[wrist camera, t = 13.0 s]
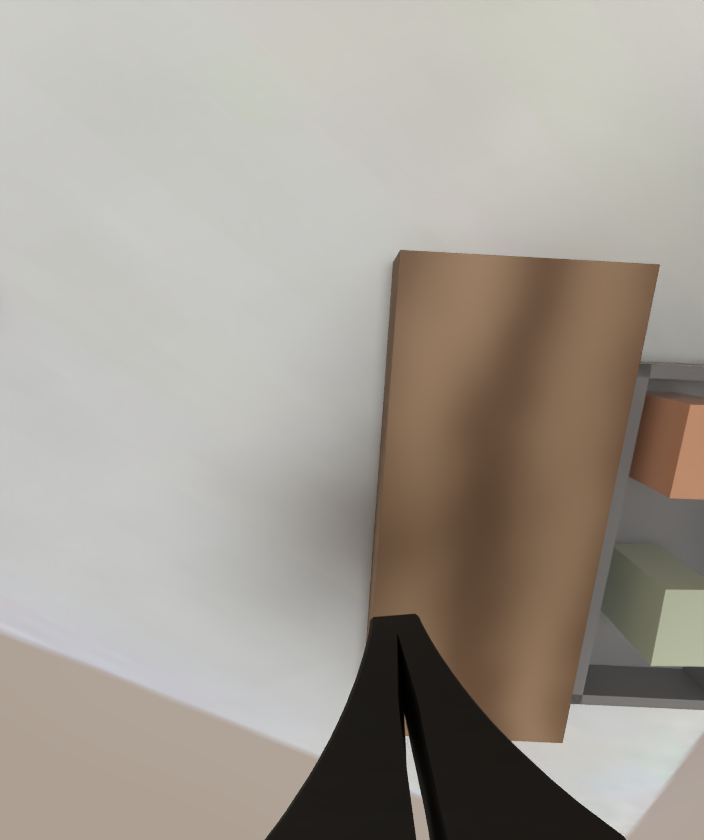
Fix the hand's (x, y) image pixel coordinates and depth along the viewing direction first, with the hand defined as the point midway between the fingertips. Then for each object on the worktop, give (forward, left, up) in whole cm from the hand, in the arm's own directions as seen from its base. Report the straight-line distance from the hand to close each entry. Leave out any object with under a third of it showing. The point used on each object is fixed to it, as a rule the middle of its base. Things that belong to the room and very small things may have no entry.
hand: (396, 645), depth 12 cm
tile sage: (-13, +4, -8) cm, 16 cm away
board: (-5, 0, -10) cm, 12 cm away
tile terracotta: (-12, -5, -8) cm, 15 cm away
